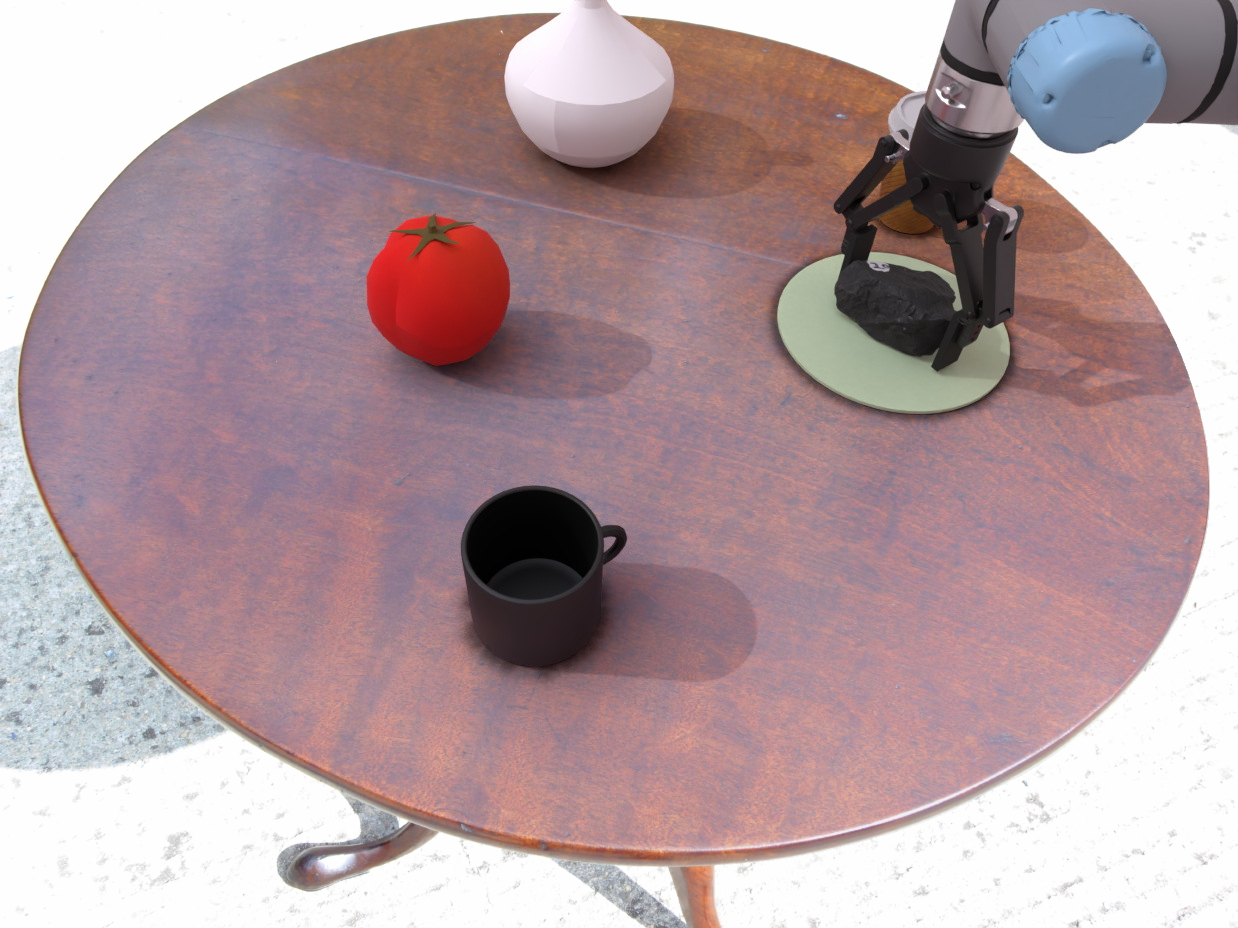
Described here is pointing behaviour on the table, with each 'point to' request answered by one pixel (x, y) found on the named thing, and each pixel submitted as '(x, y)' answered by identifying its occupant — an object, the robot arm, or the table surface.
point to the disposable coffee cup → (904, 214)
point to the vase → (589, 86)
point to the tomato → (438, 289)
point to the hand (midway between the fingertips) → (894, 323)
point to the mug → (536, 573)
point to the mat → (881, 348)
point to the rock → (897, 304)
